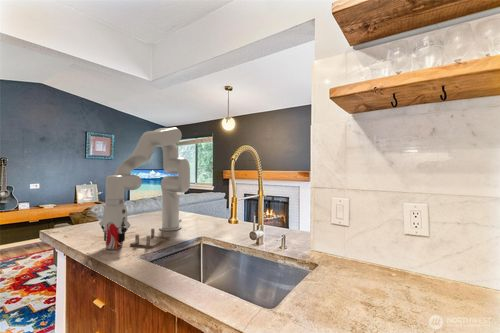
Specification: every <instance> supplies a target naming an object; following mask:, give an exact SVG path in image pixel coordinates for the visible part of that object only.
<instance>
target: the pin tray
mask: <svg viewBox="0 0 500 333" xmlns="http://www.w3.org/2000/svg"><path fill="white" fill-rule="evenodd" d="M160 232H161V233H160V234H161V235H160V236H159V235H155V228H151V229H150V235H146V236H145V237H142V238H140V234H138V233H137V234H135V236H134V237H135V238H134V239H135V240H134V241H133V242H130V243H129V246H130V247H134V248H135V247H137V248H143V249H145V248H146V249H154V248H157V247H158V246H160V245H162V244H164V243H166V242H168V241H169V240H170V237H168V236H166V235H165V234H166V231H165V229H162V230H160Z"/></svg>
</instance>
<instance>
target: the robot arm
mask: <svg viewBox="0 0 500 333" xmlns="http://www.w3.org/2000/svg"><path fill="white" fill-rule="evenodd" d="M181 140H182V131H181V130H180V129H179V128H177V127H162V128H157V129H155V130H149V131H145V132H143V134H142V135H141V136H140V138H139V141H138V142H137V145H136V146H135V149H134V150H133V152H132V154H131V155H129V156H128V157H126V159H125V160H124V161H122V162H121V163H120V164H119V166H118V167H117V168H116V169H115V172H114V174H112V175H107V176H106V178H105V203H104V204H105V205H104V207H103V213H102V220H100V222H98V224H99V226H100V227H101V229H102V232H103V235H104V236H103V241H104V242H106V225H107V224H108V223H114V225H115V226H116V228H118V230H119V233H120V234H119V235H118V242H119V243H121V242H123V243H124V242H125V237H126V233H127V231H129V229H130V227H131V224H130V223H129V221H128V211H127V205H126V200H125V191H136V190H138V189H140V188H141V186H142V185H143V182H142V178H141V177H140V176H138V175H137V174H131V173H132V171H134V170H135V169H137V168H138V167H140V166H143V165H145V164H147V163H149V161H150V160H151V157H152V155H153V153H154V150H155V149H156V148H159V147H160V148H161V150H162V163H163V164H162V165H163V171H164V173H166V174H170V175H166V176H164V177H163V178H161V181H160V188H161V195H162V199H161V200H162V211H161V213H162V214H161V216H162V218H161V225H160V226H158V227H159V230H160V231H161V230H162V229H165V232H172V231H178V230H180V229H182V225H181V224H180V223H181V222H182V219H181V218H180V197H179V195H178V193H187V192H188V191H189V189H190V187H191V167H190V166H191V165H190V162H189V161H188V159H186V158H184V157H179V151H178V146H177V145H176V144H177V143H179V142H180V141H181ZM171 174H173V175H171ZM175 174H176V175H175ZM121 225H122V226H121ZM121 228H122V229H121Z"/></svg>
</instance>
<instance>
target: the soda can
mask: <svg viewBox="0 0 500 333" xmlns="http://www.w3.org/2000/svg"><path fill="white" fill-rule="evenodd" d="M121 226H122V225H121ZM121 229H122V228H121ZM119 234H120V233H119V230H118V228H116V226H115V225H114V223H108V224H107V225H106V241H105V248H106V249H108V250H113V251H115V250H118V249H121V247H123V244H124V241H123V242H121V243H119V242H118V235H119Z"/></svg>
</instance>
